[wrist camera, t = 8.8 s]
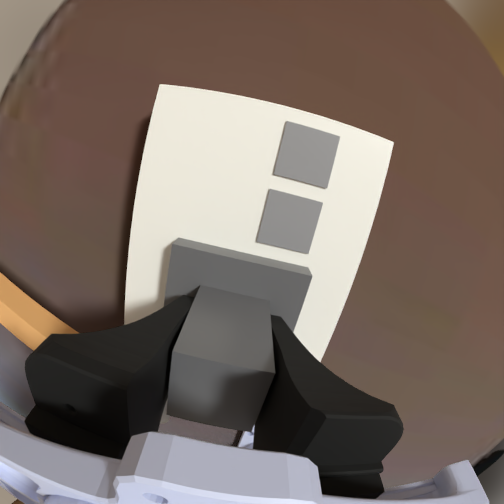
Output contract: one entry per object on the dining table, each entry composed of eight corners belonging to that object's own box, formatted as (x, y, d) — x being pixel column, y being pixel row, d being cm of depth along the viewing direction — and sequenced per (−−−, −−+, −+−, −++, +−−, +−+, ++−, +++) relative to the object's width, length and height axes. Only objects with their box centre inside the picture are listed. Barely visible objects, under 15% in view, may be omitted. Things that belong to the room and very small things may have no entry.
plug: (271, 343, 16) (279, 457, 9) (175, 321, 16) (127, 425, 8) (300, 251, 15) (341, 339, 7) (190, 225, 14) (125, 292, 7)
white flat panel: (286, 396, 18) (289, 424, 15) (137, 363, 17) (124, 389, 15) (372, 144, 13) (394, 142, 11) (175, 96, 13) (159, 83, 10)
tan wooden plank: (184, 376, 14) (174, 411, 12) (174, 393, 14) (163, 427, 12) (-16, 242, 12) (-44, 255, 10) (-18, 264, 12) (-44, 278, 10)
